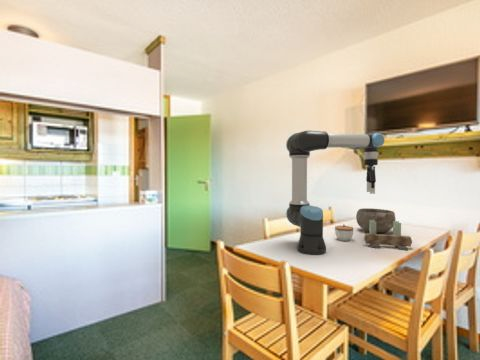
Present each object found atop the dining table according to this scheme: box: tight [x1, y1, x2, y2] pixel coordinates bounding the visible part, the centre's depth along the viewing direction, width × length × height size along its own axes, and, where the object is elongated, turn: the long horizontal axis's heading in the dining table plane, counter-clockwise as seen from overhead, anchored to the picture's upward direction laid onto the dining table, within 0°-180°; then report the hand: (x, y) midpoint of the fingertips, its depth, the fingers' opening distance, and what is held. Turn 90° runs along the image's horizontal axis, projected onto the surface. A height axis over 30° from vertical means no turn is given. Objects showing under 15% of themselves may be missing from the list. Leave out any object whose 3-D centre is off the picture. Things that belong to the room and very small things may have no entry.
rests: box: [369, 244, 408, 251], centre depth 149 cm, size 17×9×2 cm, turn 72°
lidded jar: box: [334, 224, 354, 242], centre depth 165 cm, size 11×11×9 cm
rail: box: [363, 232, 413, 248], centre depth 148 cm, size 23×4×5 cm, turn 72°
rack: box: [368, 220, 402, 236], centre depth 160 cm, size 17×6×12 cm, turn 72°
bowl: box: [355, 207, 396, 234], centre depth 185 cm, size 24×24×15 cm
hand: (370, 192), depth 168 cm, fingers open, 13 cm apart
